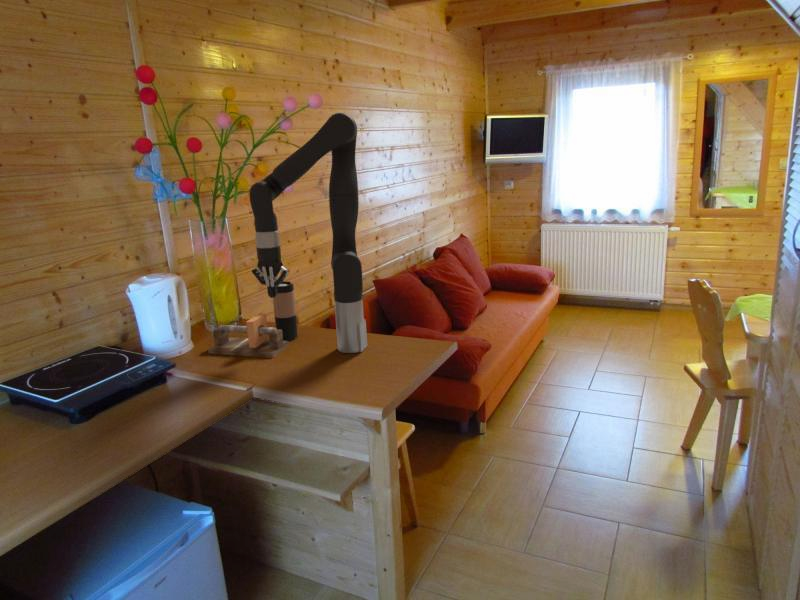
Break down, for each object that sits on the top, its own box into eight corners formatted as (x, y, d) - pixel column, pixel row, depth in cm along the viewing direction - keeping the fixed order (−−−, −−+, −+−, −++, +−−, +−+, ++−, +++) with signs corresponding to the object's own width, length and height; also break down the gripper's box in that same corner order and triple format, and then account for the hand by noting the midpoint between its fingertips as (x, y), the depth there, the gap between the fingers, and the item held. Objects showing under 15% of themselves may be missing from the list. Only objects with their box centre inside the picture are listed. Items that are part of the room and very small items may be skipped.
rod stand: (289, 345, 195) (287, 322, 193) (273, 357, 184) (270, 333, 182) (228, 341, 202) (225, 319, 199) (208, 353, 190) (205, 330, 188)
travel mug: (273, 341, 200) (267, 286, 194) (281, 334, 207) (276, 281, 202) (294, 341, 199) (288, 286, 193) (301, 334, 206) (296, 281, 200)
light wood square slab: (268, 338, 195) (266, 313, 193) (255, 347, 187) (252, 321, 184) (262, 338, 196) (259, 313, 193) (249, 347, 187) (246, 321, 185)
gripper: (292, 243, 182) (296, 295, 187) (255, 242, 185) (260, 293, 190) (281, 247, 175) (286, 301, 180) (243, 246, 178) (249, 299, 183)
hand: (273, 297), depth 185 cm, fingers closed
